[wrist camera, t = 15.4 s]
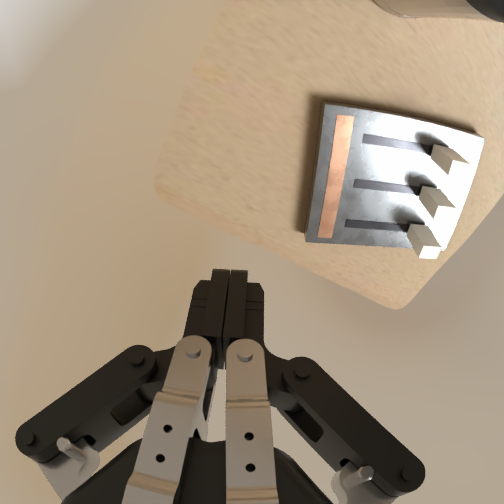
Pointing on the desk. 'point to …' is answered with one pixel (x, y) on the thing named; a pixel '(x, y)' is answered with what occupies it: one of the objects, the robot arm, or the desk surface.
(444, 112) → the desk surface
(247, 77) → the desk surface
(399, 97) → the desk surface
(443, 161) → the switch
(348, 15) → the desk surface
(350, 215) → the switch panel
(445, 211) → the switch middle
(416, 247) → the switch
